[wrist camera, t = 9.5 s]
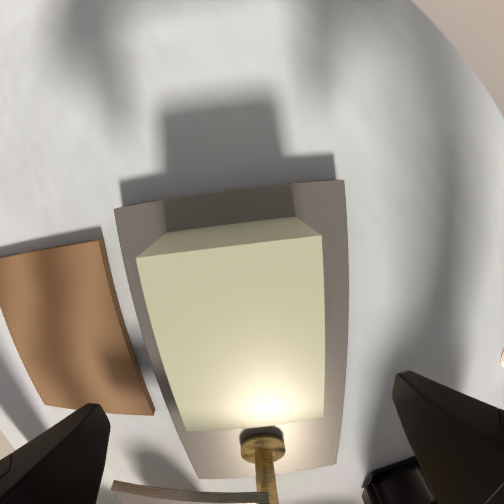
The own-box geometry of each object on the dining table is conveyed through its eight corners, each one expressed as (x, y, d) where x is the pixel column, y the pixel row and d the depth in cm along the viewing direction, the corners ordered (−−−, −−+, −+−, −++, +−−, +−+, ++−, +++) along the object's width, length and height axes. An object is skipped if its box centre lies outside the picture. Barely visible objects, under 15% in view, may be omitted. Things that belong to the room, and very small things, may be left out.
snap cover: (295, 216, 14) (321, 235, 9) (304, 362, 16) (323, 417, 11) (166, 232, 14) (135, 258, 9) (197, 373, 16) (186, 431, 11)
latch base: (336, 179, 14) (344, 179, 13) (332, 453, 20) (335, 463, 19) (122, 206, 14) (113, 209, 13) (200, 468, 20) (198, 478, 18)
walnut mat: (103, 238, 15) (98, 241, 14) (155, 409, 18) (153, 415, 17) (-8, 258, 15) (-13, 261, 14) (47, 400, 18) (44, 404, 17)
